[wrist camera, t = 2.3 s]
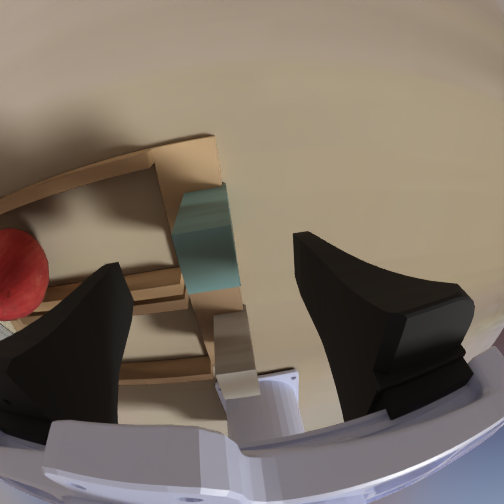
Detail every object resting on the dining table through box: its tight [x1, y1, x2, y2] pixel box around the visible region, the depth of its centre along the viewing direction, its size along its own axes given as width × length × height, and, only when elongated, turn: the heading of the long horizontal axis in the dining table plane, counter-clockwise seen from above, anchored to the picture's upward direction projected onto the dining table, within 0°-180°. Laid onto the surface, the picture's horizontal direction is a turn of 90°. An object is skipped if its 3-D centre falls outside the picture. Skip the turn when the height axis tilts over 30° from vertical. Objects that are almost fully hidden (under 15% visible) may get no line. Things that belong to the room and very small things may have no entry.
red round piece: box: [0, 228, 49, 321], centre depth 13 cm, size 6×6×8 cm
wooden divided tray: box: [0, 135, 241, 312], centre depth 14 cm, size 9×20×6 cm, turn 97°
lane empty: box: [10, 283, 261, 400], centre depth 19 cm, size 9×20×6 cm, turn 97°
